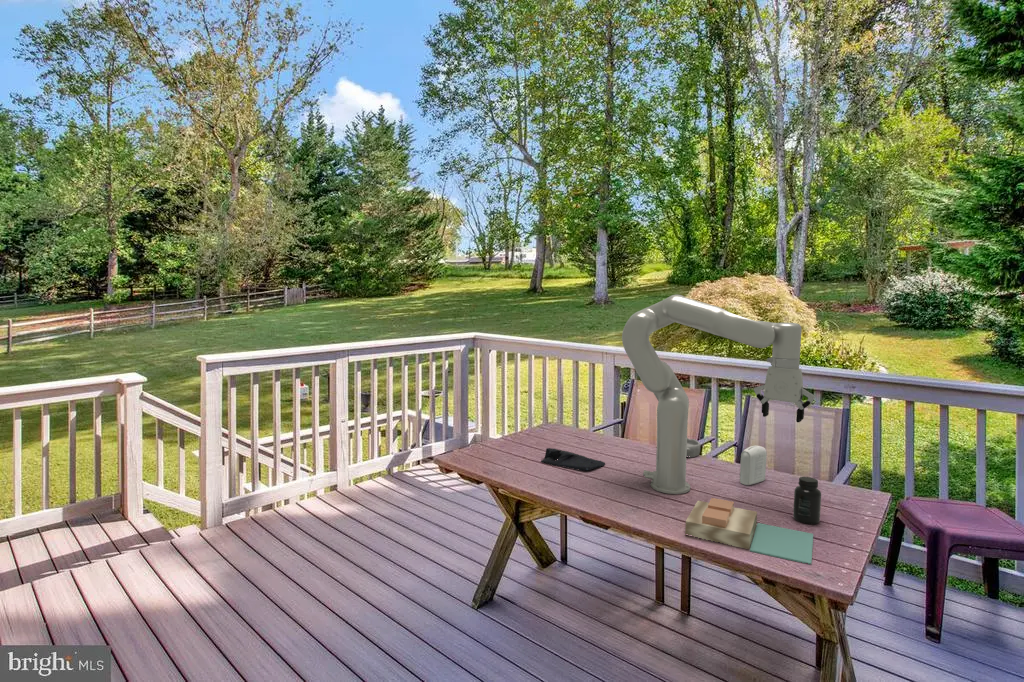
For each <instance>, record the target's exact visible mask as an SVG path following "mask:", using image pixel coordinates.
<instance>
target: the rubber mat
mask: <svg viewBox="0 0 1024 682" xmlns="http://www.w3.org/2000/svg"><path fill="white" fill-rule="evenodd" d="M813 542H814V533H810V532H807V531H800V530H796V529H792V528H791V529H790V528H786V527H781V526H776V525H770V524H766V523H761V522H757V524H756V528H755V532H754V535H753V539H752V542H751V545H750V549H749V552H752V553H756V554H760V555H765V556H770V557H775V558H779V559H783V560H788V561H793V562H797V563H801V562H802V564H805V563H808V564H807V565H810V564H811V565H812V560H813V559H812V557H813V547H814V546H813V545H814V544H813Z"/></svg>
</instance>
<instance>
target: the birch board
mask: <svg viewBox="0 0 1024 682" xmlns="http://www.w3.org/2000/svg"><path fill="white" fill-rule="evenodd" d="M708 504H709V501H703V500H697V501H696V503H695V504H694V506H693V508H692V510H691V512H690V513H689V515H688V516H687V518H686V520H685V531H684V534H688V535H692V536H695V537H698V538H697V539H699V538H702V539H701V540H704V539H706V540H705V541H708V540H711V541H710V542H713V541H715V542H714V543H718V542H720V543H719V544H722V543H724V544H723V545H727V544H728V545H727V546H731V545H732V547H737V548H739V549H740V548H741V549H746V550H750V547H751V544H752V540H753V537H754V534H755V530H756V527H757V523H758V520H757V519H758V511H755V510H750V509H745V508H740V507H735V506H734V509H733V511H732V514H731V516H729V521H728V524H727V526H726V528H724V527H719V526H714V525H710V524H705V523H702V515H703V513H704V511H705V510H706V508H708ZM695 537H694V538H695Z"/></svg>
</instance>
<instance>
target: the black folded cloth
mask: <svg viewBox="0 0 1024 682" xmlns="http://www.w3.org/2000/svg"><path fill="white" fill-rule="evenodd" d="M557 459H558V460H557ZM555 460H556V461H555ZM540 462H541V463H543V464H548V463H549V465H551V464H552V465H551V466H556V465H557V466H556V467H559V466H564V467H563V468H566V467H569V468H568V469H570V468H574V469H573V470H576V469H579V470H578V471H581V470H582V471H583V470H585V471H590V470H593V469H598V468H600V467H601V466H602V467H604V466H606V464H605V461H602V460H598V459H594V458H590V457H587V456H585V455H583V454H577V453H574V452H572V451H567V450H561V449H558V448H552V447H547V448H546V449H545V455H544V458H543V459H541V460H540Z"/></svg>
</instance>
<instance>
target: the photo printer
mask: <svg viewBox="0 0 1024 682" xmlns="http://www.w3.org/2000/svg"><path fill="white" fill-rule="evenodd" d="M767 454H768V453H767V450H766V448H765V447H764V446H761V445H751V446H748V447H747V448H745V449H744V450H743V451H742V452H741V454H740V466H739V469H740V470H739V482H740V483H741V484H742V485H745V486H750V485H755V484H758V483H760V482H763V481H765V480H766V471H767V470H766V469H767Z"/></svg>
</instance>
